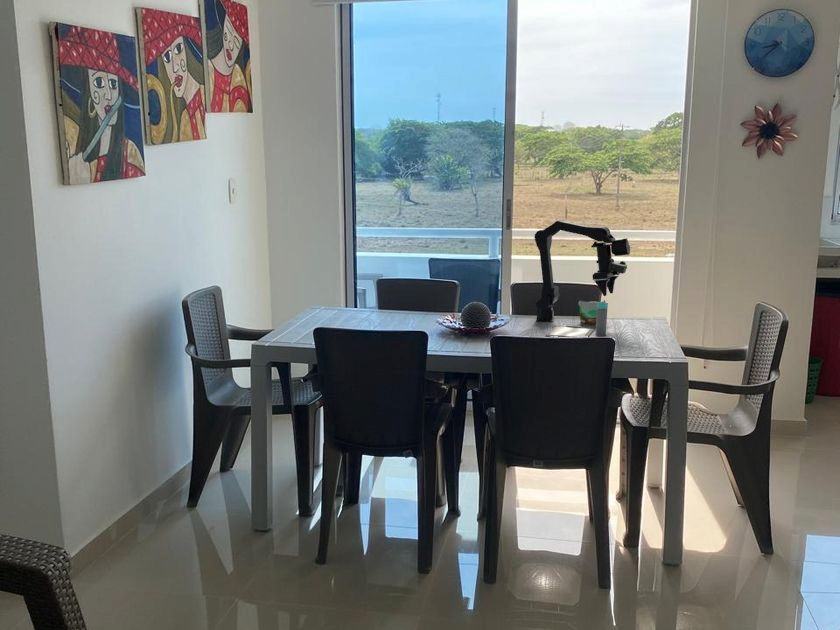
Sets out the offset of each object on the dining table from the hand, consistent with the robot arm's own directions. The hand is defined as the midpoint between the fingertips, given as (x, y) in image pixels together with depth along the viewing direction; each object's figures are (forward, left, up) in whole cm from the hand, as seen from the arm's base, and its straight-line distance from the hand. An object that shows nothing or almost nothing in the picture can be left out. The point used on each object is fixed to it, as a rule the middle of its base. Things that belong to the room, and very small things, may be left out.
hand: (608, 294), depth 338 cm
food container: (-6, +5, -14) cm, 16 cm away
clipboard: (-12, -17, -14) cm, 25 cm away
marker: (0, -15, -14) cm, 21 cm away
